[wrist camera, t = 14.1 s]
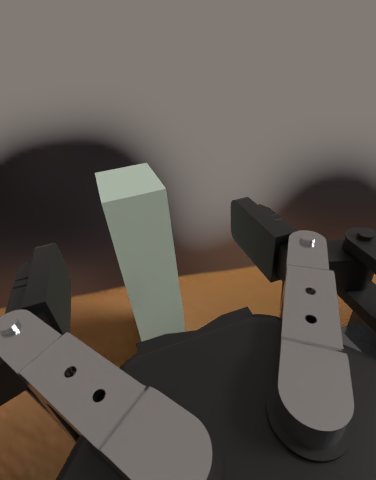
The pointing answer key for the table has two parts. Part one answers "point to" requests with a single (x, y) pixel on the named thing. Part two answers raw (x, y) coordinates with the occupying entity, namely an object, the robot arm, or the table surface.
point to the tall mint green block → (143, 247)
